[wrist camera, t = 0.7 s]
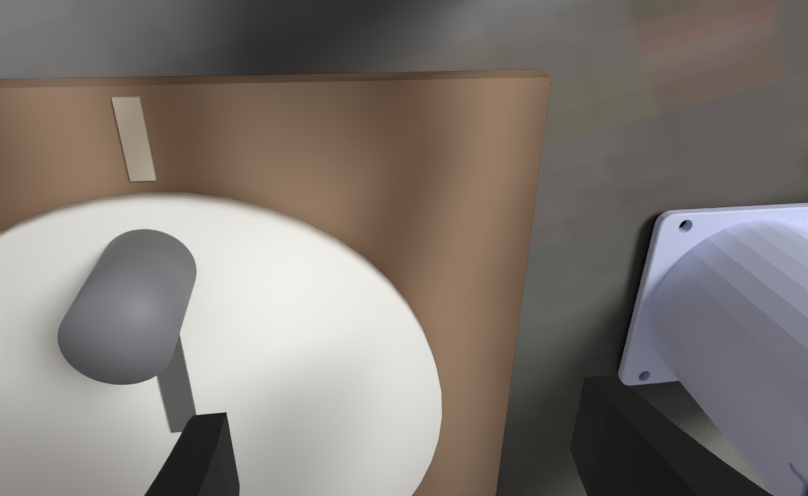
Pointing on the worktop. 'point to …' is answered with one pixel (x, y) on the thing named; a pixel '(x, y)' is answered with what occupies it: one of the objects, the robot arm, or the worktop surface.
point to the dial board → (330, 194)
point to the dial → (205, 351)
